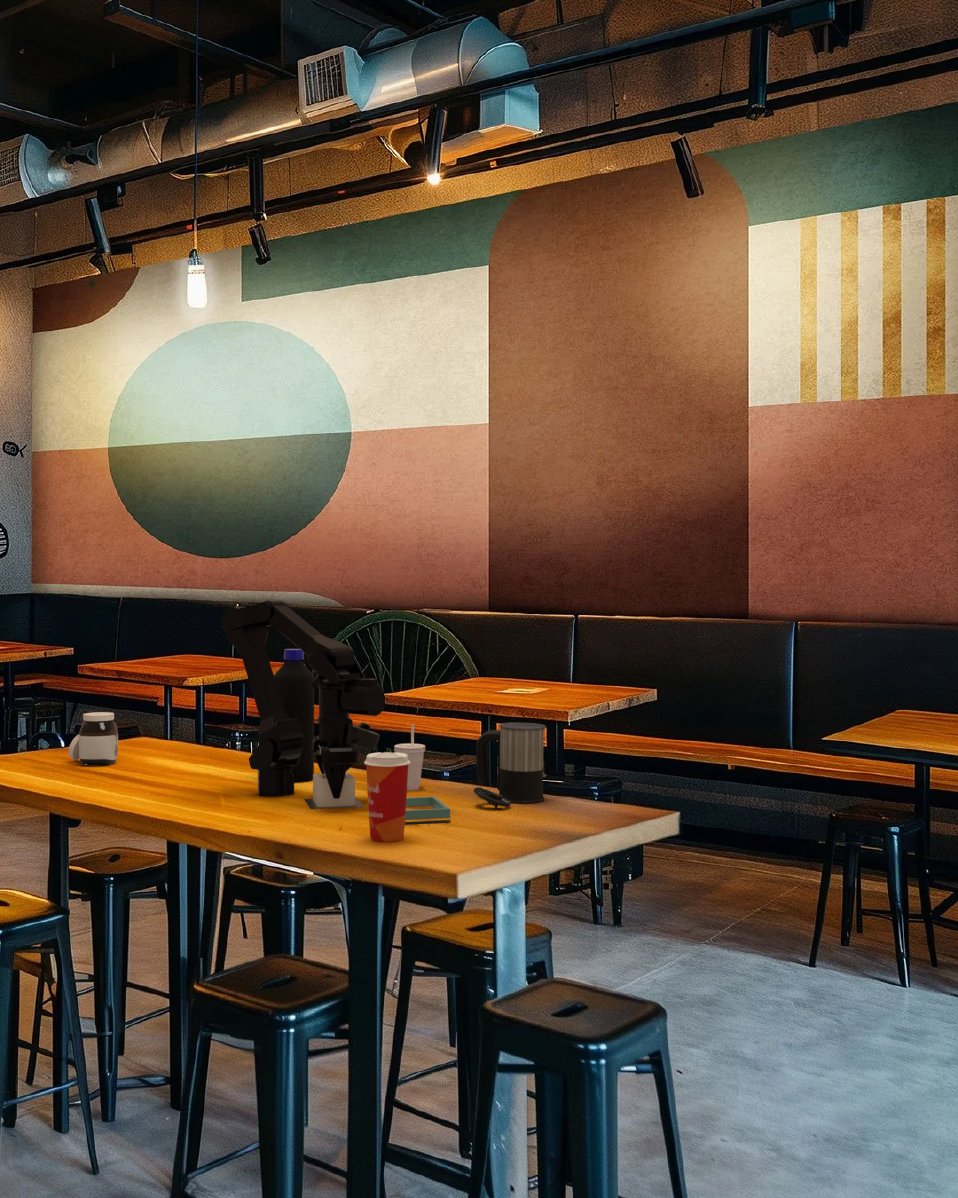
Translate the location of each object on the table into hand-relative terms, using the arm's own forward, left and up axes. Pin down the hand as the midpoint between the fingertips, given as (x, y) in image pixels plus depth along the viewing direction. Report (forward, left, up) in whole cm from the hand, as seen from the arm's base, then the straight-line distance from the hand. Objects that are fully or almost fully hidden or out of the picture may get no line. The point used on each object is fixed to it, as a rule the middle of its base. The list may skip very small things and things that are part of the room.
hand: (333, 795), depth 225 cm
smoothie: (+17, +12, -3) cm, 21 cm away
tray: (+12, -12, -2) cm, 17 cm away
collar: (0, 0, -2) cm, 2 cm away
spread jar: (-47, +67, -3) cm, 82 cm away
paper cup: (+5, -28, -3) cm, 29 cm away
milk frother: (+34, -2, -3) cm, 34 cm away
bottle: (-4, +34, -3) cm, 34 cm away
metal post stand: (0, 0, -2) cm, 2 cm away
